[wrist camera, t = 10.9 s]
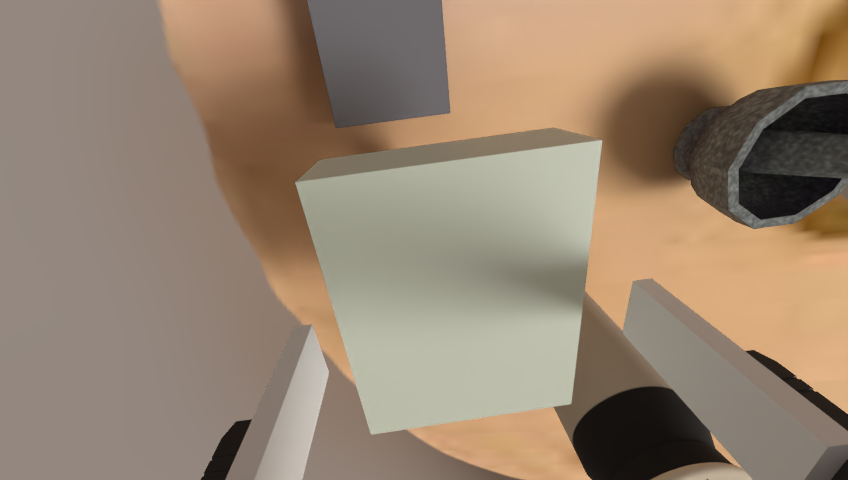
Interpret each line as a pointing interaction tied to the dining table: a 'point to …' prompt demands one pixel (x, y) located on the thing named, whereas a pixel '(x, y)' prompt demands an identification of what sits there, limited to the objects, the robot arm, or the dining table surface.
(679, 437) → the travel mug
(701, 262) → the dining table surface
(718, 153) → the mortar and pestle
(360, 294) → the lid
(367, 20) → the mat
